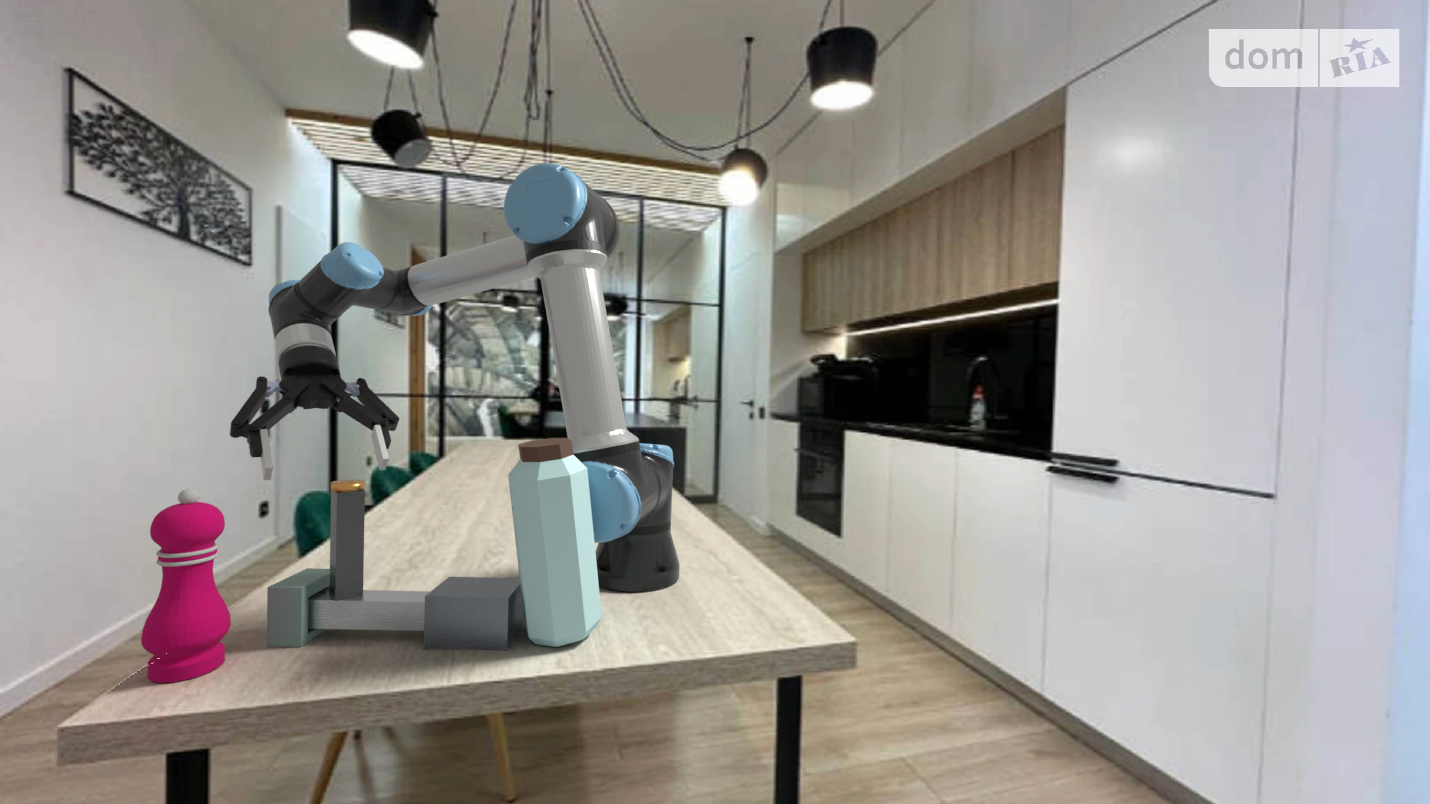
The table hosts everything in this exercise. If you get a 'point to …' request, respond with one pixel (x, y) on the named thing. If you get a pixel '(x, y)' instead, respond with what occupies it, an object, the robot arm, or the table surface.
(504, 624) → the charcoal rectangular brick
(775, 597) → the table surface
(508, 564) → the table surface
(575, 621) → the water bottle
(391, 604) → the gray hammer
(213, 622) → the pepper mill
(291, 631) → the socket block
